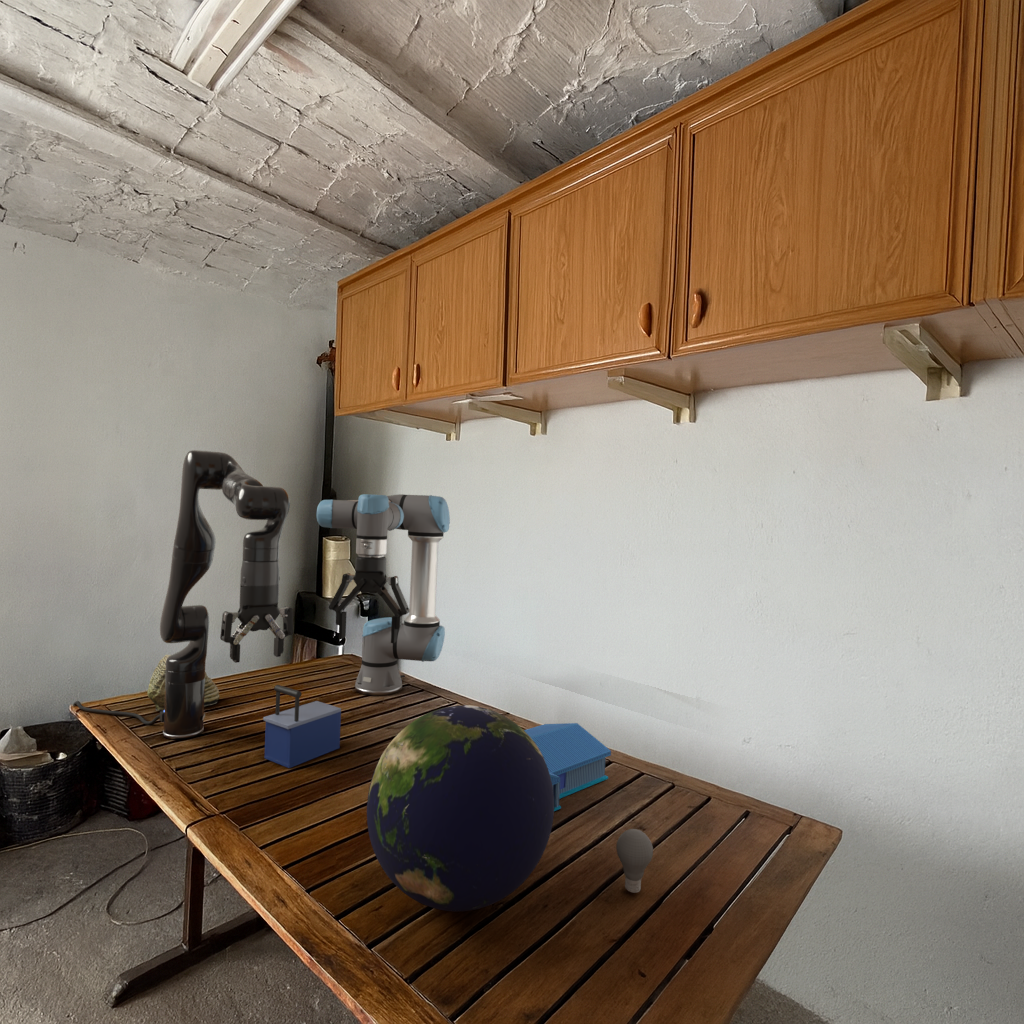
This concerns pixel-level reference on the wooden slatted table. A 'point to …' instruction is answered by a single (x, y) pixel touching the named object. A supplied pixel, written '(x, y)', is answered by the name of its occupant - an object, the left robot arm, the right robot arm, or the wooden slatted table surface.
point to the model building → (570, 757)
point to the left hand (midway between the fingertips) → (256, 658)
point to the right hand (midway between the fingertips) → (367, 640)
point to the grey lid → (298, 710)
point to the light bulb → (634, 857)
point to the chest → (302, 740)
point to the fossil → (158, 687)
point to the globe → (460, 808)
